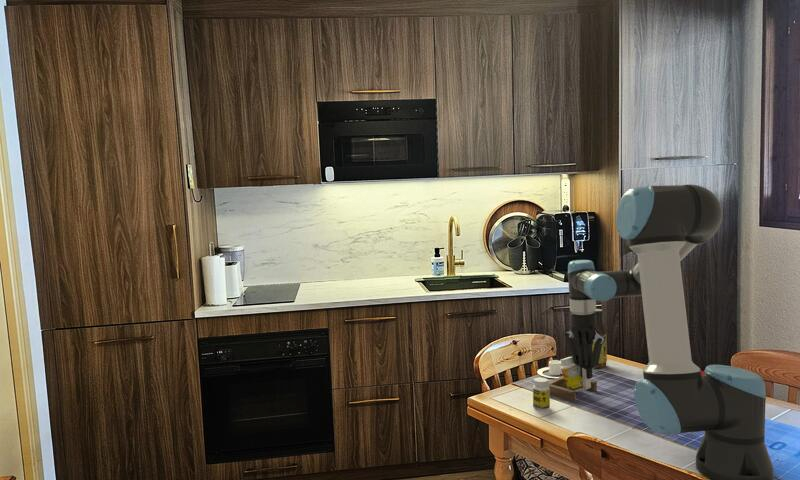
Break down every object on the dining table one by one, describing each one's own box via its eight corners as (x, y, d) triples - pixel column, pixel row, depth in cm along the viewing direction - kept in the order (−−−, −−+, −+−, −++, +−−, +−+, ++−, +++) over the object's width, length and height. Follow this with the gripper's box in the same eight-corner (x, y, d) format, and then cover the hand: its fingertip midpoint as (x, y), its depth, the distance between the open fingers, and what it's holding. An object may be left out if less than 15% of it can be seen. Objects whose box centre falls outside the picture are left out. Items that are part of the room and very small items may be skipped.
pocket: (572, 402, 180) (572, 392, 180) (543, 393, 188) (542, 384, 188) (596, 390, 188) (596, 381, 188) (567, 383, 196) (567, 374, 196)
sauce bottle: (608, 369, 208) (607, 312, 206) (589, 368, 209) (588, 312, 207) (605, 363, 215) (604, 307, 213) (586, 363, 216) (586, 308, 214)
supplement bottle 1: (531, 409, 176) (530, 381, 175) (535, 403, 180) (534, 376, 179) (547, 411, 174) (547, 383, 173) (551, 405, 178) (551, 378, 177)
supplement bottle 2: (569, 392, 190) (557, 360, 192) (586, 386, 189) (575, 354, 190) (569, 394, 184) (557, 361, 186) (587, 389, 183) (575, 356, 185)
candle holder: (573, 381, 199) (573, 368, 198) (536, 379, 202) (535, 366, 202) (574, 369, 210) (573, 357, 210) (538, 368, 214) (538, 356, 213)
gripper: (608, 311, 180) (612, 389, 182) (572, 307, 189) (576, 380, 192) (594, 316, 175) (598, 396, 177) (558, 311, 185) (562, 387, 187)
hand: (587, 388), depth 184 cm, fingers closed
